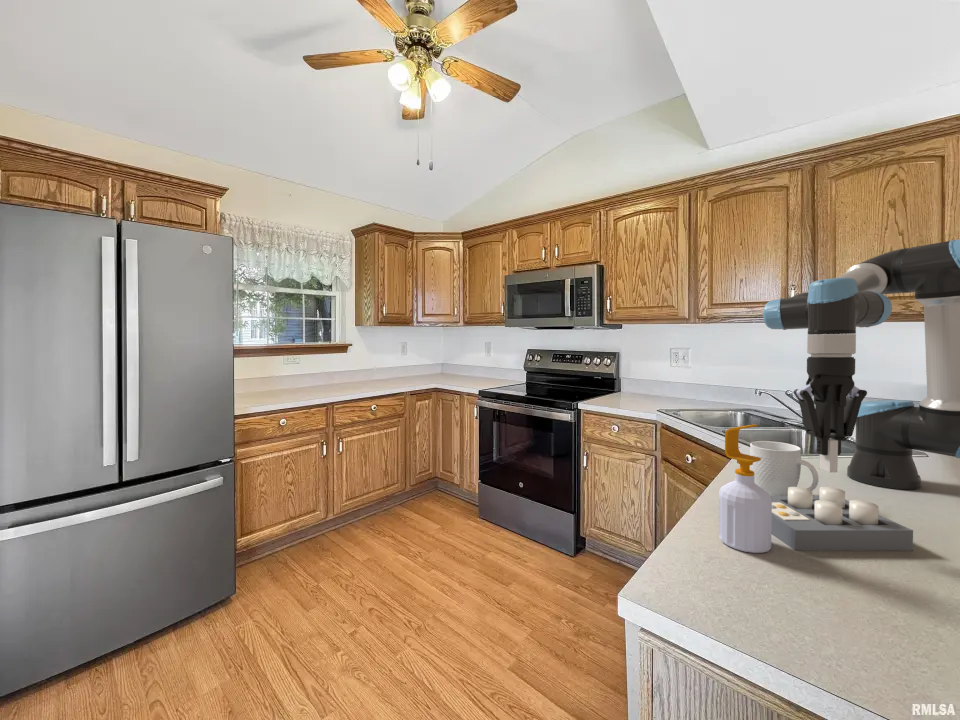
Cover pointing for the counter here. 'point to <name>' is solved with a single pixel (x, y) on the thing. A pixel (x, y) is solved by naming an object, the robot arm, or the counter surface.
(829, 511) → the button
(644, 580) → the counter surface
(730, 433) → the soap bottle
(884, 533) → the button board
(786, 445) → the mug
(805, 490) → the button
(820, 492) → the button
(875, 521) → the button
